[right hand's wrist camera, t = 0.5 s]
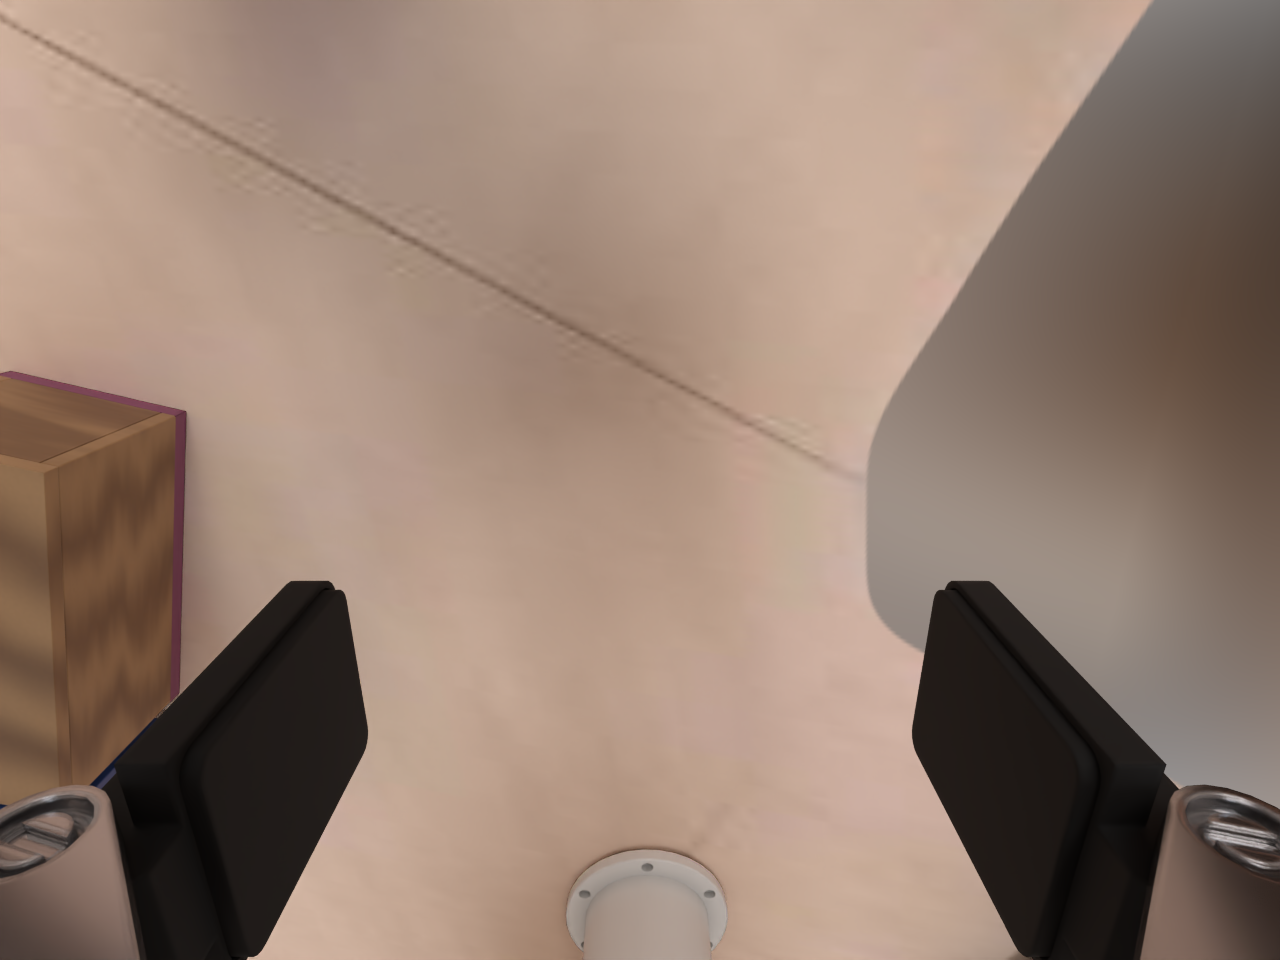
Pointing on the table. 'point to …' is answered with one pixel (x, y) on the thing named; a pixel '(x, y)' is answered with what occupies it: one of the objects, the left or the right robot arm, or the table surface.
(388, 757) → the table surface
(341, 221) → the table surface
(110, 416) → the cabinet
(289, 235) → the table surface
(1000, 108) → the table surface
